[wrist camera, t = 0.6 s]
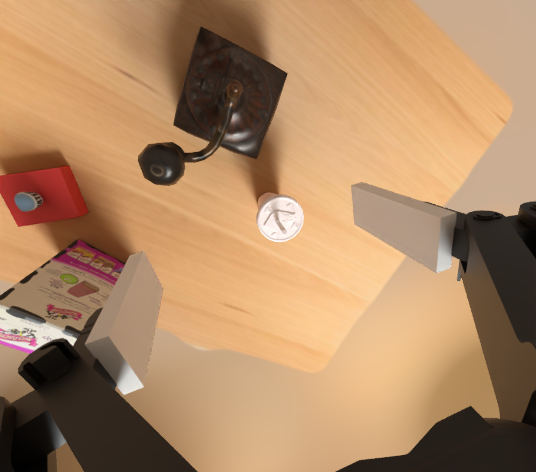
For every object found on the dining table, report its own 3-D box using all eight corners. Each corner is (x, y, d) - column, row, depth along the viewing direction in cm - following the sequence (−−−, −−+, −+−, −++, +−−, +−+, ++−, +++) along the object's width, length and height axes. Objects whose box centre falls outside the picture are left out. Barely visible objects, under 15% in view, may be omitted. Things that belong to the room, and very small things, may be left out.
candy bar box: (62, 262, 40) (-33, 336, 25) (78, 238, 39) (-12, 299, 24) (130, 294, 44) (83, 375, 29) (145, 273, 43) (105, 345, 28)
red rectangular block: (70, 165, 36) (41, 170, 30) (89, 211, 38) (65, 224, 33) (9, 174, 35) (-34, 181, 29) (32, 220, 38) (-3, 235, 32)
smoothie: (244, 190, 41) (255, 213, 28) (282, 179, 42) (310, 196, 29) (255, 226, 44) (270, 262, 31) (290, 215, 44) (320, 246, 31)
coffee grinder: (198, 48, 34) (176, -42, 17) (274, 86, 37) (318, 42, 20) (168, 162, 38) (126, 179, 21) (238, 188, 41) (250, 220, 24)
